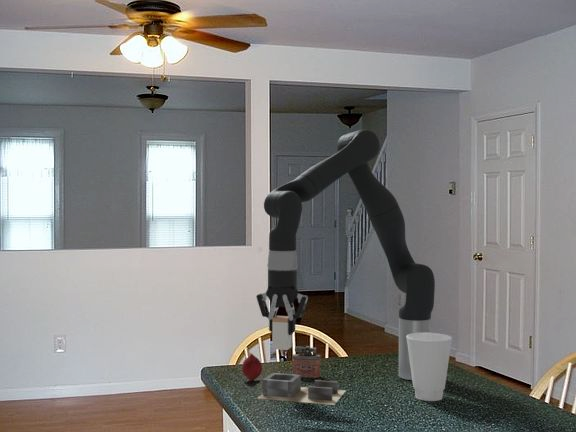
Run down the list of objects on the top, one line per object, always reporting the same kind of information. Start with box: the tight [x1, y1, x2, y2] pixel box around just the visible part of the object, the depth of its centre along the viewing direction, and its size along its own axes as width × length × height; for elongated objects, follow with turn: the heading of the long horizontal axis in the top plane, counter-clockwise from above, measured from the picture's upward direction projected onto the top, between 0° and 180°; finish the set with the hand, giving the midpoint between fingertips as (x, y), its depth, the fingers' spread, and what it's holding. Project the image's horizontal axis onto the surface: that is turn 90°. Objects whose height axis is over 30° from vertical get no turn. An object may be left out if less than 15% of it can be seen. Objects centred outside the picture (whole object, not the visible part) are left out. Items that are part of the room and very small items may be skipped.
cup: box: [406, 332, 453, 402], centre depth 185 cm, size 12×12×16 cm
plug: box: [271, 315, 293, 351], centre depth 184 cm, size 4×4×8 cm
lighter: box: [291, 345, 322, 379], centre depth 202 cm, size 8×3×10 cm, turn 84°
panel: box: [256, 372, 347, 406], centre depth 182 cm, size 20×14×6 cm
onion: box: [241, 352, 263, 382], centre depth 202 cm, size 6×6×8 cm
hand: (282, 333), depth 184 cm, fingers closed on plug, 4 cm apart
